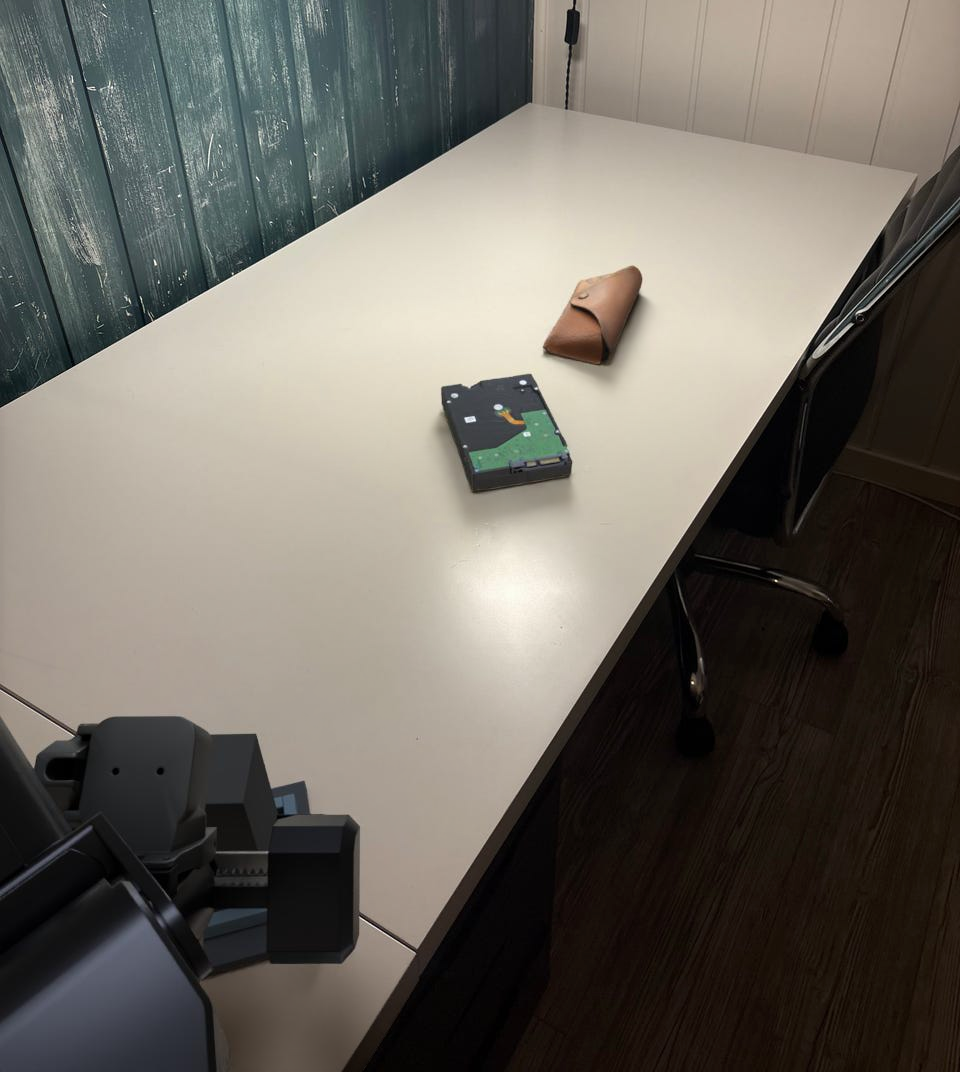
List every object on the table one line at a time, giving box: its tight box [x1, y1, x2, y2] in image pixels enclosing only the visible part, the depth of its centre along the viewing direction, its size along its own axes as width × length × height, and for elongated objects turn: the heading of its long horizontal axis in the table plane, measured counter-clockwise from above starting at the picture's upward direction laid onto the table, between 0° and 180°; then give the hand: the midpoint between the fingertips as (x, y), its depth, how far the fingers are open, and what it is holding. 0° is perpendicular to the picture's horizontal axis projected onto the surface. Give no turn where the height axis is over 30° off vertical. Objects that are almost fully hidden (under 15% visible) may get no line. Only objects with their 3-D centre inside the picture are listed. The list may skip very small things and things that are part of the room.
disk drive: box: [440, 373, 573, 492], centre depth 97 cm, size 10×3×15 cm
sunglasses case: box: [542, 265, 643, 366], centre depth 115 cm, size 18×7×7 cm
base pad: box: [203, 780, 311, 977], centre depth 62 cm, size 11×9×2 cm
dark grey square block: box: [205, 733, 278, 874], centre depth 58 cm, size 4×4×12 cm
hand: (212, 834), depth 54 cm, fingers open, 9 cm apart
